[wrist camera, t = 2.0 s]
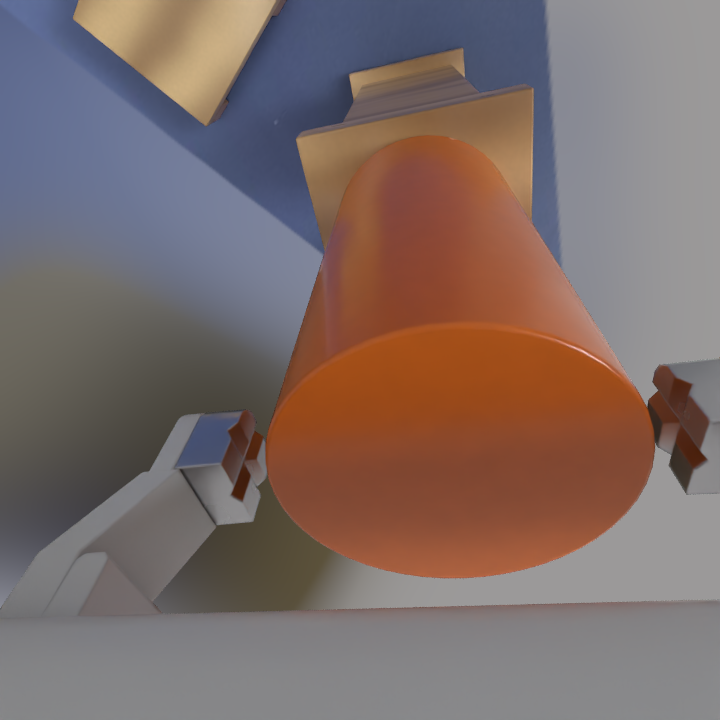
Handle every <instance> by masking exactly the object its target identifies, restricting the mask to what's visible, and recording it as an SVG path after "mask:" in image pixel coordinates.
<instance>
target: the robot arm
mask: <svg viewBox="0 0 720 720" xmlns="http://www.w3.org/2000/svg"><path fill="white" fill-rule="evenodd" d="M653 383H654V385H655V386H656V387H657V389H658V391H657V392H656V393H655V394H654V395H653V396H652V397H651V398H650V399H649V400H648V406H647V408H648V410H649V414H650V417H651V421H652V424H653V427H654V439H655V443H656V445H657V447H658V448H660V449H662V450H664V451H665V452H667V453H669V454H671V459H670V463H669V467H670V468H671V470H672V471H673V473H674V475H675V476H676V478H677V479H678V481H679V483H680V485H681V486H682V488H683V490H684V491H685V493H686V494H687V495H689V494H690V495H691V494H717V493H720V358H716V359H706V360H697V361H688V362H680V363H672V364H663V365H659V366H658V367H657V369H656V370H655V373H654V377H653ZM256 423H257V422H256V419H255V417H254V416H253V414H252V412H251V411H249V410H246V409H245V410H234V411H222V412H209V413H204V414H190V415H184V416H182V417H181V418H179V419H178V421H177V423H176V425H175V426H174V429H173V430H172V432H171V434H170V435H169V437H168V439H167V441H166V442H165V444H164V446H163V448H162V450H161V452H160V453H159V455H158V457H157V459H156V461H155V462H154V464H153V466H152V468H151V470H150V471H149V472H143V473H141V474H140V475H138V476H137V477H136V478H135V479H133V480H132V481H131V482H129V483H128V484H127V485H126V486H124V487H123V488H122V489H121V490H119V491H118V492H116V493H115V494H114V495H113V496H111V497H110V498H109V499H108V500H106V501H105V502H104V503H102V504H101V505H100V506H99V507H97V508H96V509H94V510H93V511H92V512H91V513H90V514H88V515H87V516H85V517H84V518H83V519H82V520H80V521H79V522H78V523H77V524H75V525H74V526H72V527H71V528H70V529H69V530H67V531H66V532H65V533H63V534H62V535H61V536H60V537H58V538H57V539H56V540H54V541H53V542H52V543H51V544H49V545H48V546H47V547H45V548H44V549H43V550H42V551H40V552H39V553H38V554H37V555H36V557H35V558H34V559H33V561H32V563H31V564H30V565H29V567H28V568H27V570H26V571H25V573H24V574H23V576H22V577H21V579H20V580H19V582H18V583H17V585H16V586H15V587H14V589H13V590H12V592H11V593H10V595H9V596H8V598H7V599H6V601H5V602H4V604H3V605H2V607H1V608H0V720H720V599H717V600H680V601H642V602H607V603H606V602H603V603H568V604H567V603H566V604H528V605H491V606H490V605H489V606H451V607H413V608H376V609H338V610H299V611H261V612H260V611H259V612H223V613H222V612H220V613H184V614H183V613H182V614H163V613H162V612H161V611H160V610H159V609H158V608H157V606H156V605H155V604H154V603H153V600H155V598H156V597H157V596H158V595H159V594H160V592H161V591H162V590H163V589H164V588H165V586H166V585H167V584H168V583H169V582H170V581H171V580H172V578H173V577H174V576H175V575H176V574H177V572H178V571H179V570H180V569H181V568H182V567H183V565H184V564H185V563H186V562H187V561H188V560H189V559H190V557H191V556H192V555H193V554H194V552H195V551H196V550H197V549H198V548H199V547H200V545H201V544H202V543H203V542H204V541H205V540H206V539H207V537H208V536H209V535H210V534H211V533H212V532H213V530H214V529H215V528H216V526H215V525H221V524H233V523H243V522H253V520H254V517H255V514H256V510H257V507H258V503H259V500H260V497H261V494H260V493H259V490H258V488H257V486H259V484H261V483H262V482H263V481H264V480H265V479H266V476H267V467H266V462H265V444H266V441H265V439H264V437H263V436H262V435H260V434H259V433H257V432H256V431H254V429H255V426H256Z"/></svg>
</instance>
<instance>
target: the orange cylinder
mask: <svg viewBox="0 0 720 720" xmlns="http://www.w3.org/2000/svg"><path fill="white" fill-rule="evenodd" d="M654 452H655V439H654V427H653V424H652V421H651V417H650V414H649V410H648V408H647V407H646V405H645V403H644V401H643V399H642V398H641V396H640V394H639V392H638V391H637V389H636V387H635V386H634V384H633V382H632V381H631V379H630V378H629V376H628V375H627V373H626V371H625V370H624V368H623V366H622V365H621V363H620V362H619V360H618V359H617V357H616V355H615V354H614V352H613V351H612V349H611V347H610V346H609V344H608V343H607V341H606V340H605V338H604V336H603V335H602V333H601V331H600V330H599V328H598V327H597V325H596V323H595V322H594V320H593V319H592V317H591V316H590V314H589V313H588V311H587V309H586V308H585V306H584V304H583V303H582V301H581V300H580V298H579V296H578V295H577V293H576V292H575V290H574V288H573V287H572V285H571V284H570V282H569V281H568V279H567V277H566V276H565V274H564V273H563V271H562V269H561V268H560V266H559V265H558V263H557V261H556V260H555V258H554V257H553V255H552V253H551V252H550V250H549V249H548V247H547V246H546V244H545V242H544V241H543V239H542V238H541V236H540V234H539V233H538V231H537V230H536V228H535V226H534V225H533V223H532V222H531V220H530V218H529V217H528V215H527V214H526V212H525V210H524V209H523V207H522V206H521V204H520V203H519V201H518V199H517V198H516V196H515V195H514V193H513V191H512V190H511V188H510V187H509V185H508V183H507V182H506V180H505V179H504V177H503V175H502V174H501V172H500V171H499V170H498V168H497V167H496V166H495V164H494V163H493V162H492V161H491V160H490V159H489V158H488V157H487V156H486V155H485V154H484V153H482V152H481V151H479V150H478V149H476V148H475V147H473V146H471V145H469V144H467V143H465V142H463V141H460V140H457V139H453V138H450V137H444V136H430V135H424V136H417V137H411V138H407V139H403V140H400V141H397V142H395V143H393V144H390V145H388V146H386V147H385V148H383V149H381V150H380V151H378V152H376V153H375V154H374V155H373V156H371V157H370V158H369V159H368V160H367V161H366V162H365V163H364V164H363V165H362V166H361V167H360V168H359V169H358V170H357V172H356V173H355V174H354V176H353V177H352V178H351V180H350V182H349V184H348V186H347V187H346V189H345V192H344V194H343V197H342V200H341V203H340V206H339V209H338V212H337V215H336V218H335V222H334V225H333V228H332V231H331V234H330V237H329V240H328V243H327V247H326V250H325V253H324V256H323V259H322V262H321V265H320V269H319V272H318V275H317V278H316V281H315V284H314V287H313V291H312V294H311V297H310V300H309V303H308V306H307V309H306V313H305V316H304V319H303V322H302V325H301V328H300V332H299V335H298V338H297V341H296V344H295V347H294V351H293V353H292V356H291V360H290V363H289V366H288V369H287V372H286V375H285V378H284V382H283V385H282V388H281V391H280V394H279V397H278V401H277V404H276V407H275V410H274V413H273V416H272V420H271V422H270V426H269V429H268V434H267V439H266V444H265V462H266V467H267V472H268V478H269V481H270V483H271V486H272V489H273V491H274V494H275V496H276V497H277V499H278V501H279V502H280V504H281V506H282V507H283V509H284V510H285V511H286V513H287V514H288V515H289V516H290V517H291V519H292V520H293V521H294V522H295V523H296V524H297V525H298V526H300V527H301V529H303V530H304V531H305V532H306V533H307V534H309V535H310V536H311V537H313V538H314V539H315V540H317V541H318V542H319V543H321V544H323V545H325V546H326V547H328V548H330V549H331V550H333V551H335V552H337V553H339V554H341V555H343V556H345V557H347V558H349V559H352V560H355V561H357V562H360V563H363V564H365V565H368V566H372V567H375V568H379V569H382V570H386V571H391V572H396V573H400V574H405V575H413V576H420V577H432V578H474V577H486V576H493V575H500V574H506V573H511V572H516V571H520V570H524V569H528V568H532V567H535V566H539V565H542V564H545V563H547V562H550V561H553V560H556V559H558V558H561V557H563V556H565V555H567V554H570V553H571V552H574V551H576V550H578V549H580V548H582V547H583V546H585V545H587V544H588V543H590V542H592V541H593V540H595V539H597V538H598V537H599V536H601V535H602V534H604V533H605V532H606V531H608V530H609V529H610V528H612V527H613V526H614V525H615V524H616V523H617V522H618V521H619V520H620V519H621V518H622V517H623V516H624V515H625V514H626V513H627V512H628V511H629V510H630V508H631V507H632V506H633V505H634V503H635V502H636V501H637V500H638V498H639V496H640V494H641V493H642V491H643V489H644V487H645V486H646V484H647V481H648V478H649V475H650V473H651V470H652V467H653V460H654Z"/></svg>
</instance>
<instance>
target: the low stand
mask: <svg viewBox="0 0 720 720" xmlns="http://www.w3.org/2000/svg"><path fill="white" fill-rule="evenodd" d="M285 2H286V0H79V1H78V4H77V7H76V10H75V13H74V16H73V19H74V20H75V21H76V22H77V23H79V24H80V25H81V26H82V27H83V28H85V29H86V30H87V31H88V32H90V33H91V34H92V35H93V36H95V37H96V38H97V39H98V40H100V41H101V42H102V43H103V44H105V45H106V46H107V47H108V48H109V49H111V50H112V51H113V52H114V53H116V54H117V55H118V56H119V57H121V58H122V59H123V60H124V61H126V62H127V63H128V64H129V65H131V66H132V67H133V68H134V69H136V70H137V71H138V72H139V73H140V74H142V75H143V76H144V77H145V78H147V79H148V80H149V81H150V82H152V83H153V84H154V85H155V86H157V87H158V88H159V89H160V90H162V91H163V92H164V93H165V94H166V95H168V96H169V97H170V98H171V99H173V100H174V101H175V102H176V103H178V104H179V105H180V106H181V107H183V108H184V109H185V110H186V111H188V112H189V113H190V114H191V115H193V116H194V117H195V118H196V119H197V120H199V121H200V122H201V123H202V124H204V125H205V126H208V125H210V124H212V123H213V122H215V121H216V120H218V119H220V117H221V115H222V113H223V111H224V110H225V108H226V106H227V104H228V101H227V100H226V97H227V95H228V94H229V92H230V90H231V88H232V86H233V85H234V83H235V81H236V79H237V77H238V76H239V74H240V72H241V70H242V69H243V67H244V65H245V63H246V61H247V60H248V58H249V56H250V54H251V52H252V51H253V49H254V47H255V45H256V44H257V42H258V40H259V38H260V36H261V35H262V33H263V31H264V29H265V27H266V26H267V24H268V22H269V20H270V19H271V17H272V16H278V14H279V13H280V11H281V9H282V7H283V6H284V4H285Z"/></svg>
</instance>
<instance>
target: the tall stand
mask: <svg viewBox="0 0 720 720" xmlns="http://www.w3.org/2000/svg"><path fill="white" fill-rule="evenodd" d="M349 78H350V83H351V89H352V94H353V99H354V102H353V104H352V106H351V108H350V110H349V111H348V113H347V115H346V117H345V119H344V121H343V123H339V124H334V125H329V126H325V127H320V128H315V129H311V130H306V131H302V132H301V133H300V134H299V135H298V137H297V138H296V143H297V147H298V151H299V154H300V158H301V162H302V166H303V170H304V174H305V177H306V181H307V185H308V189H309V193H310V196H311V200H312V204H313V208H314V212H315V216H316V219H317V223H318V227H319V231H320V235H321V238H322V242H323V246H324V250H326V247H327V243H328V240H329V237H330V234H331V231H332V228H333V225H334V222H335V218H336V215H337V212H338V209H339V206H340V203H341V200H342V197H343V194H344V192H345V189H346V187H347V186H348V184H349V182H350V180H351V178H352V177H353V176H354V174H355V173H356V172H357V170H358V169H359V168H360V167H361V166H362V165H363V164H364V163H365V162H366V161H367V160H368V159H369V158H370V157H371V156H373V155H374V154H375V153H376V152H378V151H380V150H381V149H383V148H385V147H386V146H388V145H390V144H393V143H395V142H397V141H400V140H403V139H407V138H411V137H417V136H424V135H430V136H444V137H450V138H453V139H457V140H460V141H463V142H465V143H467V144H469V145H471V146H473V147H475V148H476V149H478V150H479V151H481V152H482V153H484V154H485V155H486V156H487V157H488V158H489V159H490V160H491V161H492V162H493V163H494V164H495V166H496V167H497V168H498V170H499V171H500V172H501V174H502V175H503V177H504V179H505V180H506V182H507V183H508V185H509V187H510V188H511V190H512V191H513V193H514V195H515V196H516V198H517V199H518V201H519V203H520V204H521V206H522V207H523V209H524V210H525V212H526V214H527V215H528V217H529V218H530V220H531V222H532V171H533V109H534V89H533V88H532V87H530V86H528V85H527V84H521V85H516V86H511V87H507V88H502V89H497V90H493V91H488V92H483V93H479V92H478V91H477V90H476V89H475V88H474V87H473V86H472V85H471V84H470V83H469V82H468V81H467V80H466V79H465V72H464V55H463V48H461V47H460V48H456V49H452V50H448V51H443V52H439V53H435V54H430V55H426V56H422V57H418V58H413V59H409V60H405V61H400V62H396V63H392V64H388V65H383V66H379V67H375V68H370V69H366V70H362V71H358V72H353V73H350V74H349Z"/></svg>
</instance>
